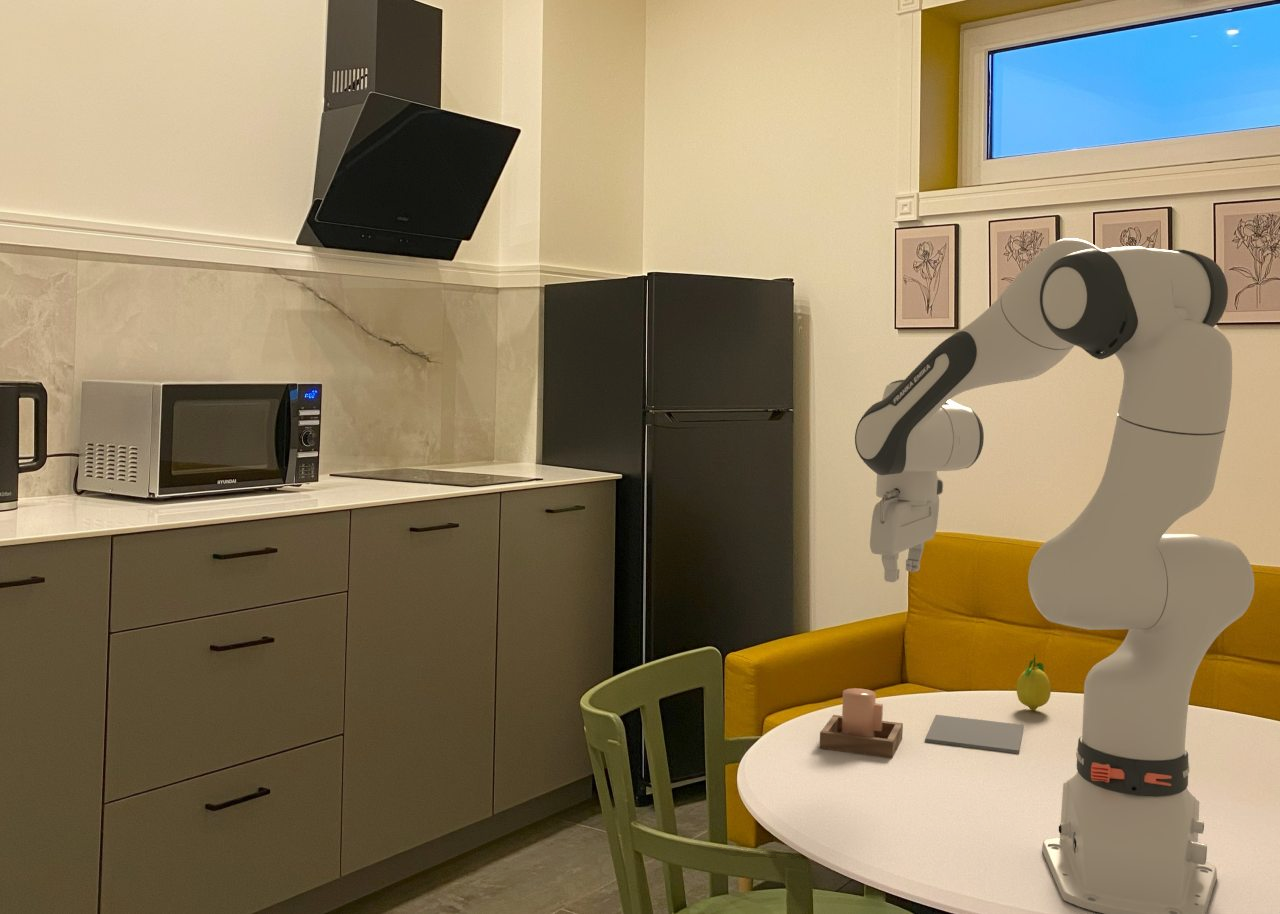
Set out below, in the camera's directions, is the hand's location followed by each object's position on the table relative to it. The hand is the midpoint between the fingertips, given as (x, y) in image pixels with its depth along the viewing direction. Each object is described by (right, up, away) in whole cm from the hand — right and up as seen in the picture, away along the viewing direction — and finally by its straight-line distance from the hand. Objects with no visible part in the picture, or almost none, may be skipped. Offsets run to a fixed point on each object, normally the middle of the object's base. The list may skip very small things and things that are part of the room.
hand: (902, 576), depth 174 cm
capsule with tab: (-6, -26, +4) cm, 27 cm away
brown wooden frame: (-6, -26, +3) cm, 27 cm away
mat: (+14, -26, +9) cm, 31 cm away
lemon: (+28, -26, +23) cm, 44 cm away
